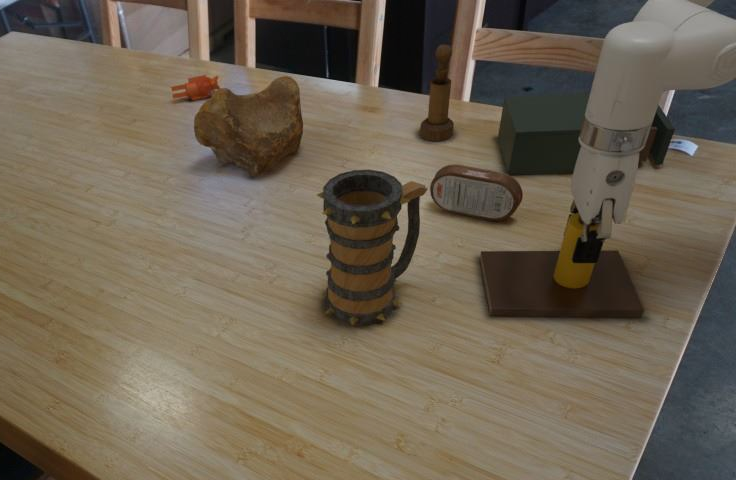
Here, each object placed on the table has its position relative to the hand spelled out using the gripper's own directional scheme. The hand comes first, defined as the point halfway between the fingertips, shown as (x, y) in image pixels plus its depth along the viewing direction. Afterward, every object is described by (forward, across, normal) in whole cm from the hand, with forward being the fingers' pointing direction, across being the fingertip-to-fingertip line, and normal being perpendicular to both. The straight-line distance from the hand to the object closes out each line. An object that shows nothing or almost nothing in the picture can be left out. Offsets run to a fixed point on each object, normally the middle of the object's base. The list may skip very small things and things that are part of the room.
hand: (579, 248), depth 96 cm
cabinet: (+7, +40, -3) cm, 41 cm away
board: (+7, 0, +2) cm, 7 cm away
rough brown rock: (+7, +41, +52) cm, 67 cm away
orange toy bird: (+7, +75, +72) cm, 104 cm away
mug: (+7, -3, +29) cm, 30 cm away
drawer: (+6, +40, -15) cm, 43 cm away
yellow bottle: (+5, 0, 0) cm, 5 cm away
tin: (+7, +20, +12) cm, 24 cm away
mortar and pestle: (+7, +50, +16) cm, 53 cm away
